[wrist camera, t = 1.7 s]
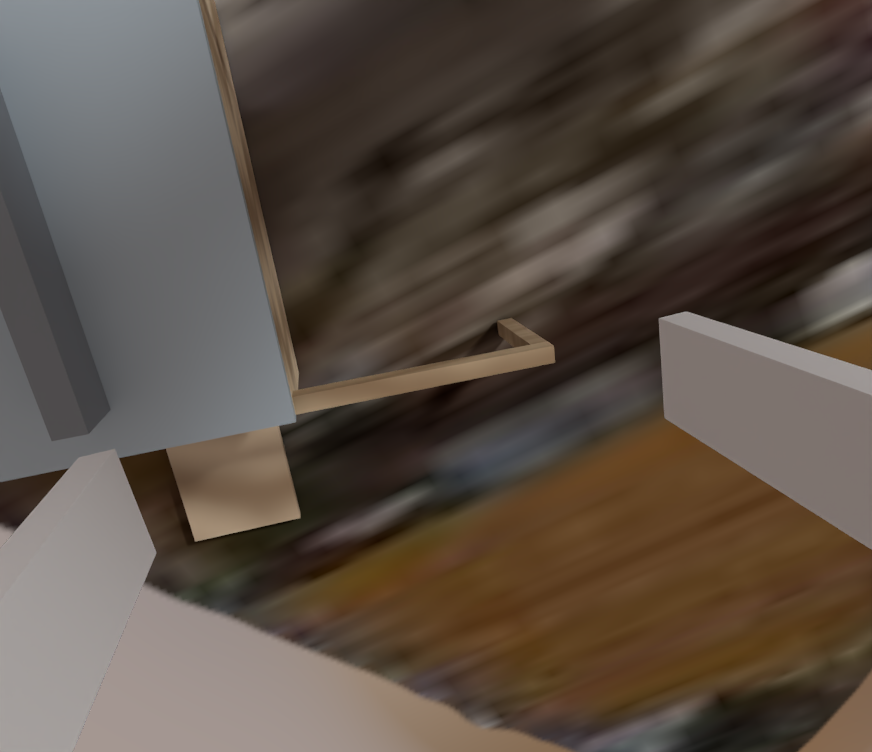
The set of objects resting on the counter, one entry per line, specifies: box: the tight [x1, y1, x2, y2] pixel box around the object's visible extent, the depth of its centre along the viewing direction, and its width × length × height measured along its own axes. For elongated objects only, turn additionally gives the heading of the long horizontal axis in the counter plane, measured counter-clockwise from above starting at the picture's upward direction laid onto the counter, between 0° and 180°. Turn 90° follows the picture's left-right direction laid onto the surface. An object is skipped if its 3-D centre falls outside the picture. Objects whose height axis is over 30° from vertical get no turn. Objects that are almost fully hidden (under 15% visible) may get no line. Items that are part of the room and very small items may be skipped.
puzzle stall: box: [199, 0, 555, 415], centre depth 31 cm, size 21×28×8 cm
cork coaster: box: [166, 426, 300, 542], centre depth 39 cm, size 7×7×1 cm
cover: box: [0, 0, 296, 482], centre depth 25 cm, size 21×14×4 cm, turn 8°
